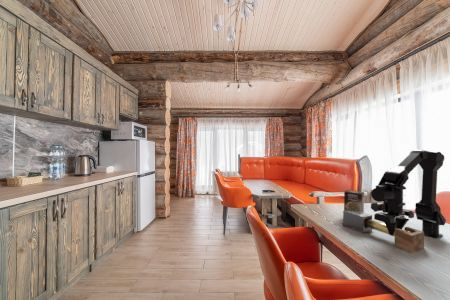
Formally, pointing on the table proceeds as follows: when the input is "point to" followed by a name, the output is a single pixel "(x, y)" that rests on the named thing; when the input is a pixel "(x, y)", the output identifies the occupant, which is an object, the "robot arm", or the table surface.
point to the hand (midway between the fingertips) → (394, 234)
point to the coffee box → (354, 200)
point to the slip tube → (380, 226)
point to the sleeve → (356, 220)
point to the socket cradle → (409, 239)
